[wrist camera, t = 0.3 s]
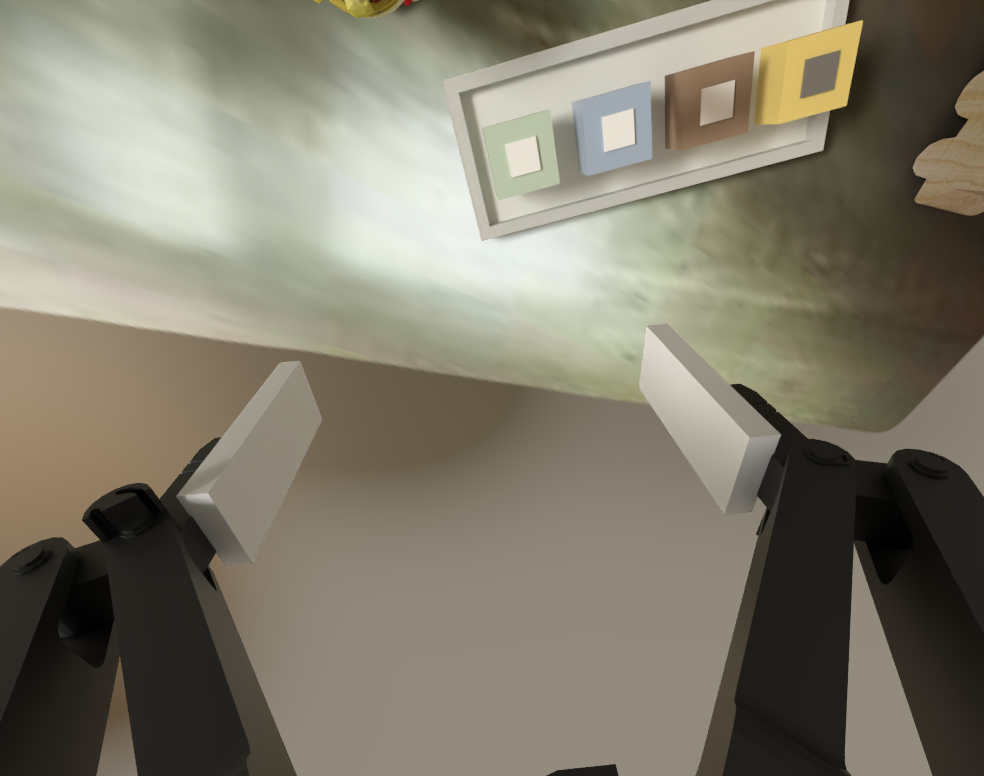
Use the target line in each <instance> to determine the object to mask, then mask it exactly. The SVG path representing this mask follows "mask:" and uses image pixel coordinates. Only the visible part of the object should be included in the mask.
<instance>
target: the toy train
mask: <svg viewBox="0 0 984 776" xmlns="http://www.w3.org/2000/svg"><path fill="white" fill-rule="evenodd" d="M955 109H956V112H957V114H958V115H959V116H961V117H964V118H966V119H968V121H967V122H966V124H965V125H964V126H963V128H962V129H961V131H960V132H959V133H958V135H957V136H956V137H954V138H947V139H942V140H939V141H937V142H935V143H933V144H930V145H929V146H928V147H927V148H926V149H925V150H924V151H923V152H922V153H921V154H920V155H919V156H918V157H917V158H916V161H915V163H914V165H913V171H914V173H915V175H917V176H920V177H922V178H925V179H926V181H925V182H924V184H923V186H922V187H921V189H920V191H919V192H918V194H917V196H916V197H915V202H916V203H919V204H923V205H927V206H931V207H935V208H939V209H943V210H947V211H951V212H955V213H959V214H963V215H967V216H973V215H977V214H980V213H982V212H984V71H983V72H981V73H980V74H978V75H977V76H975V77H974V78H973V79H972V80H971V81H970V82H969V83H968V85H967V86H966V87H965V88H964V90H963V91H962V93H961V95H960V96H959V98H958V100H957V103H956V105H955Z"/></svg>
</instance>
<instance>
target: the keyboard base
mask: <svg viewBox="0 0 984 776" xmlns="http://www.w3.org/2000/svg"><path fill="white" fill-rule="evenodd" d="M848 6H849V0H712V1H708V2H705V3H701V4H698V5H695V6H691V7H688V8H685V9H681V10H678V11H675V12H671V13H668V14H665V15H661V16H658V17H654V18H651V19H648V20H644V21H641V22H638V23H634V24H631V25H628V26H624V27H621V28H617V29H614V30H611V31H607V32H604V33H601V34H597V35H594V36H591V37H587V38H584V39H581V40H577V41H574V42H570V43H567V44H564V45H560V46H557V47H554V48H550V49H547V50H544V51H540V52H537V53H534V54H530V55H527V56H523V57H520V58H517V59H513V60H510V61H507V62H503V63H500V64H497V65H493V66H490V67H487V68H483V69H480V70H476V71H473V72H470V73H466V74H463V75H460V76H456V77H453V78H450V79H446V80H443V81H442V82H443V86H444V90H445V94H446V98H447V103H448V107H449V111H450V115H451V119H452V123H453V127H454V131H455V135H456V139H457V143H458V147H459V151H460V155H461V159H462V163H463V167H464V171H465V175H466V180H467V184H468V188H469V192H470V196H471V200H472V204H473V208H474V212H475V216H476V220H477V224H478V228H479V232H480V236H481V240H482V241H483V240H487V239H491V238H494V237H498V236H502V235H506V234H509V233H513V232H517V231H521V230H525V229H528V228H532V227H536V226H540V225H543V224H547V223H551V222H555V221H559V220H562V219H566V218H570V217H574V216H577V215H581V214H585V213H589V212H593V211H596V210H600V209H604V208H608V207H611V206H615V205H619V204H623V203H627V202H630V201H634V200H638V199H642V198H645V197H649V196H653V195H657V194H661V193H664V192H668V191H672V190H676V189H680V188H683V187H687V186H691V185H695V184H698V183H702V182H706V181H710V180H714V179H717V178H721V177H725V176H729V175H732V174H736V173H740V172H744V171H748V170H751V169H755V168H759V167H763V166H766V165H770V164H774V163H778V162H782V161H785V160H789V159H793V158H797V157H800V156H804V155H808V154H812V153H816V152H819V151H823V148H824V142H825V137H826V131H827V125H828V120H829V114H830V111H826V112H822V113H819V114H815V115H811V116H808V117H804V118H800V119H796V120H793V121H789V122H785V123H782V124H754V119H755V108H756V98H757V87H758V76H759V65H760V55H761V48H764V47H767V46H771V45H774V44H778V43H781V42H785V41H788V40H792V39H795V38H799V37H802V36H806V35H809V34H813V33H816V32H820V31H823V30H827V29H830V28H834V27H838V26H842V25H845V23H846V17H847V12H848ZM753 51H755V55H754V66H753V78H752V89H751V101H750V112H749V124H748V133H745V134H741V135H738V136H734V137H730V138H727V139H723V140H719V141H715V142H712V143H708V144H704V145H701V146H697V147H693V148H690V149H686V150H682V151H681V150H673V149H665V76H666V75H669V74H673V73H676V72H680V71H683V70H687V69H690V68H694V67H697V66H701V65H704V64H708V63H711V62H715V61H718V60H722V59H725V58H729V57H733V56H737V55H741V54H745V53H749V52H753ZM648 81H651V124H652V159H649V160H645V161H642V162H638V163H634V164H631V165H627V166H623V167H620V168H616V169H612V170H609V171H605V172H601V173H598V174H594V175H590V176H588V175H585V174H583V173H581V172H579V165H578V156H577V147H576V138H575V129H574V119H573V110H572V102H575V101H579V100H582V99H586V98H589V97H593V96H596V95H599V94H603V93H606V92H610V91H613V90H617V89H620V88H624V87H627V86H631V85H634V84H639V83H643V82H648ZM544 110H550V112H551V120H552V127H553V135H554V142H555V150H556V157H557V164H558V172H559V179H560V184H557V185H553V186H550V187H546V188H542V189H539V190H535V191H531V192H528V193H524V194H520V195H517V196H513V197H509V198H506V199H502V200H498V198H497V196H496V192H495V188H494V183H493V178H492V174H491V169H490V164H489V160H488V155H487V150H486V146H485V141H484V136H483V132H482V128H484V127H488V126H491V125H495V124H498V123H502V122H505V121H509V120H512V119H516V118H519V117H523V116H526V115H530V114H533V113H537V112H540V111H544Z"/></svg>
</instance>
